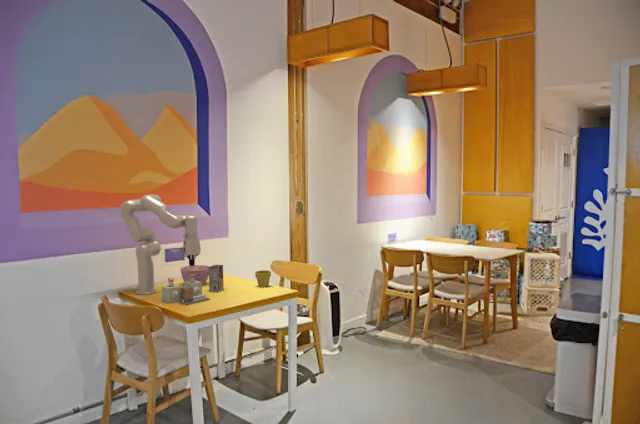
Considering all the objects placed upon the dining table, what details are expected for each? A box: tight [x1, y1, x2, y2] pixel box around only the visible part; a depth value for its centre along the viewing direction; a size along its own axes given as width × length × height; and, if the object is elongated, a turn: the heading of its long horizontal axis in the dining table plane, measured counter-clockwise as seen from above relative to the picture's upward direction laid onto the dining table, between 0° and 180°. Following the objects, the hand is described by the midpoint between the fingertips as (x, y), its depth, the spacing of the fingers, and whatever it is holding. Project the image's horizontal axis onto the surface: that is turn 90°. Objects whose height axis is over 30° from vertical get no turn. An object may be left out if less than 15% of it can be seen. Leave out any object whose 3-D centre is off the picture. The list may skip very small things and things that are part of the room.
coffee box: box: [208, 264, 224, 293], centre depth 336 cm, size 9×6×16 cm
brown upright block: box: [180, 286, 193, 302], centre depth 305 cm, size 6×5×8 cm
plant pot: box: [254, 269, 272, 288], centre depth 348 cm, size 10×10×10 cm
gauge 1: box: [167, 277, 175, 287], centre depth 309 cm, size 3×3×7 cm
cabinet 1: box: [160, 284, 182, 304], centre depth 310 cm, size 8×8×9 cm
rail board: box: [177, 294, 211, 306], centre depth 309 cm, size 9×16×2 cm, turn 139°
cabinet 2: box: [182, 281, 203, 297], centre depth 321 cm, size 8×8×9 cm
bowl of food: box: [179, 264, 210, 285], centre depth 354 cm, size 20×20×12 cm
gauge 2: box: [189, 274, 195, 283], centre depth 321 cm, size 3×3×7 cm
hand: (191, 265), depth 320 cm, fingers closed
